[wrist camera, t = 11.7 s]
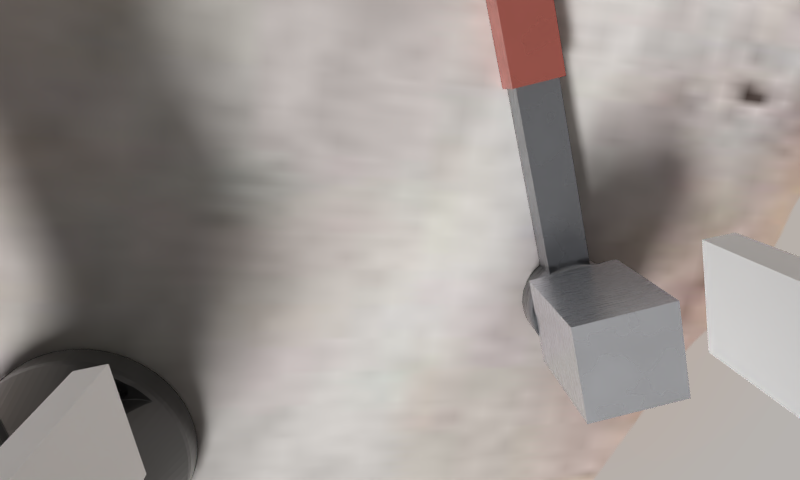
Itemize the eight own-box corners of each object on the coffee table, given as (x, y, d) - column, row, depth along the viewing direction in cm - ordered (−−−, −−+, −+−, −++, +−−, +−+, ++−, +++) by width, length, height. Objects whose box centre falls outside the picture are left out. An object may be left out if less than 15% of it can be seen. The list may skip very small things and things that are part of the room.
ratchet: (531, 347, 45) (565, 398, 37) (455, -35, 38) (479, -63, 30) (614, 326, 45) (665, 372, 37) (554, -59, 38) (601, -93, 31)
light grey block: (529, 280, 40) (570, 327, 32) (616, 259, 40) (679, 300, 32) (544, 360, 42) (587, 423, 34) (628, 340, 42) (690, 398, 34)
